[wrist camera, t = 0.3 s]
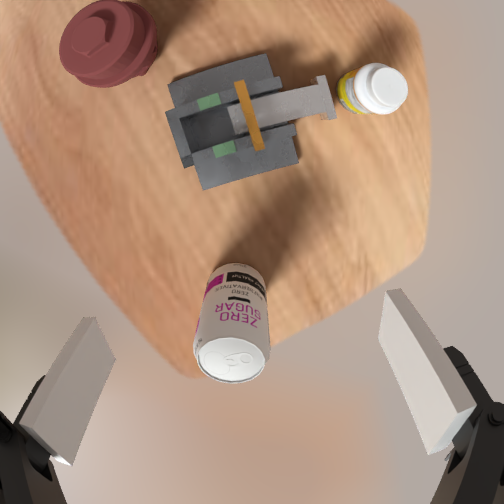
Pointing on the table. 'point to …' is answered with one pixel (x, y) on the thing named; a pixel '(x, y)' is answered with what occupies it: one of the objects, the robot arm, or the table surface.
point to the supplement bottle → (372, 89)
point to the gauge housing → (227, 123)
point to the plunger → (279, 108)
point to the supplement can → (233, 325)
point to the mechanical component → (109, 43)
